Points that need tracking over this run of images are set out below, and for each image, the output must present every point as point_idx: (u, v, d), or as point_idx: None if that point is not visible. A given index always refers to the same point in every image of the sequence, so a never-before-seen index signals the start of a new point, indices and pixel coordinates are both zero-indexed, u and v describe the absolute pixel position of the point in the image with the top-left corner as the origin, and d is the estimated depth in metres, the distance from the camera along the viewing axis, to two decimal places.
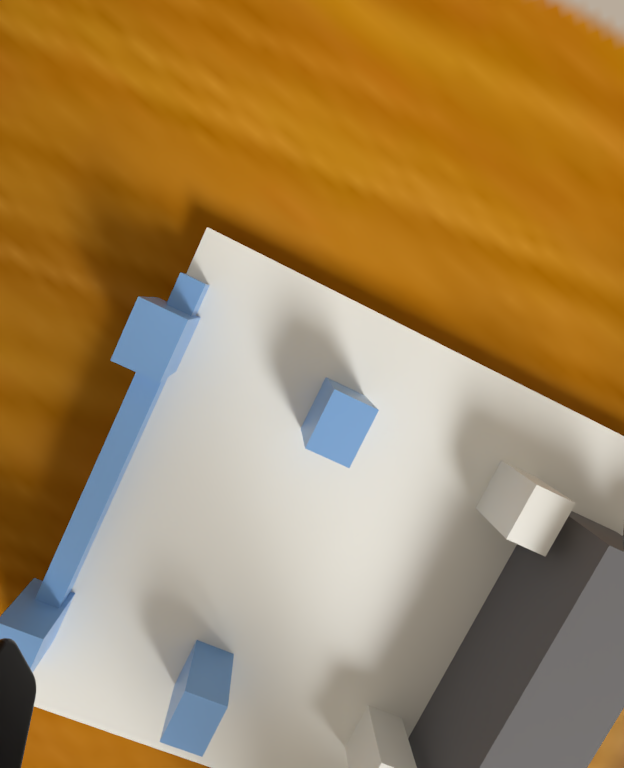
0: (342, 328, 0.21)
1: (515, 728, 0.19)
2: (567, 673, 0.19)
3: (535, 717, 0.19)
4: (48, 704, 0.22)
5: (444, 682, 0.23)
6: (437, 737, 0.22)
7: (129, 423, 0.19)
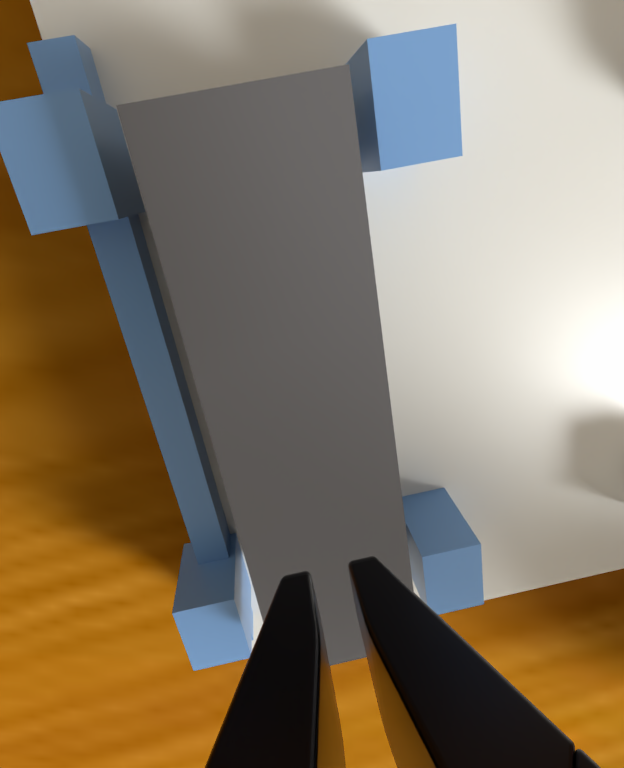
0: None
1: (245, 487, 0.11)
2: (251, 368, 0.10)
3: (260, 456, 0.11)
4: None
5: None
6: None
7: (138, 314, 0.13)
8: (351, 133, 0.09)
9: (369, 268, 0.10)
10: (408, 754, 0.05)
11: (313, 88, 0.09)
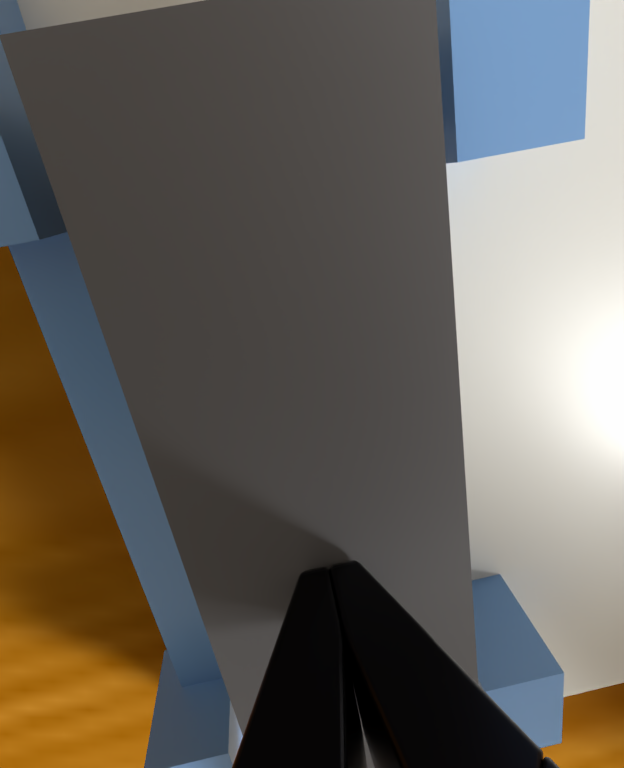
0: None
1: (243, 645, 0.08)
2: (252, 479, 0.06)
3: (266, 603, 0.07)
4: None
5: None
6: None
7: (90, 370, 0.09)
8: (431, 93, 0.05)
9: (447, 322, 0.06)
10: (383, 760, 0.05)
11: (366, 8, 0.05)
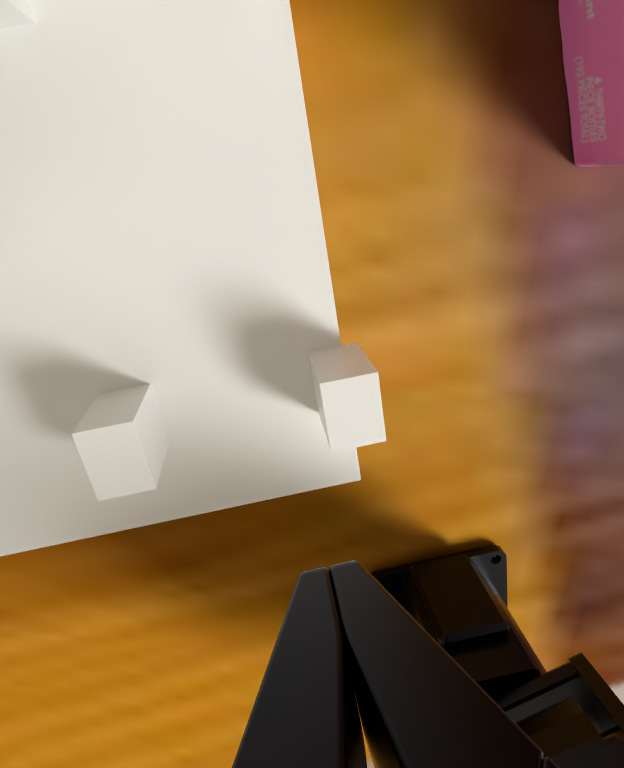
0: None
1: None
2: None
3: None
4: None
5: None
6: None
7: None
8: None
9: None
10: (383, 760, 0.05)
11: None
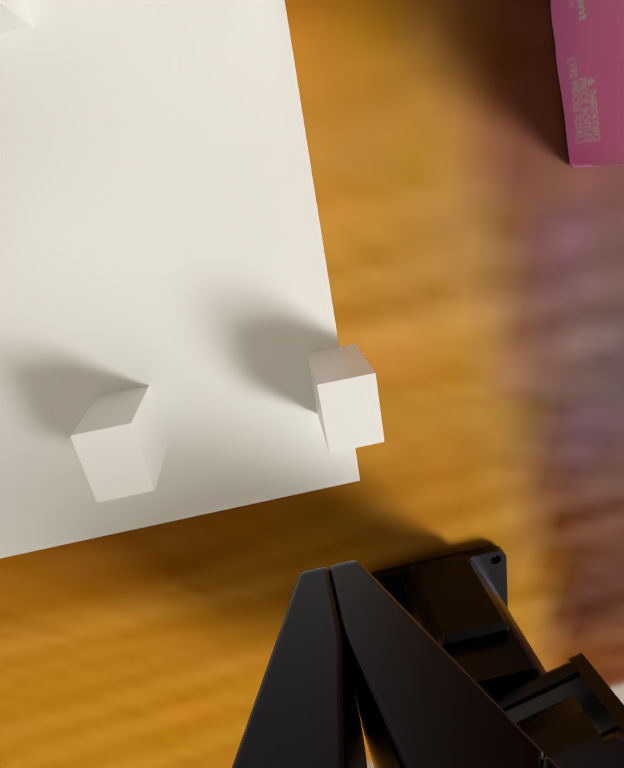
0: None
1: None
2: None
3: None
4: None
5: None
6: None
7: None
8: None
9: None
10: (383, 760, 0.05)
11: None
